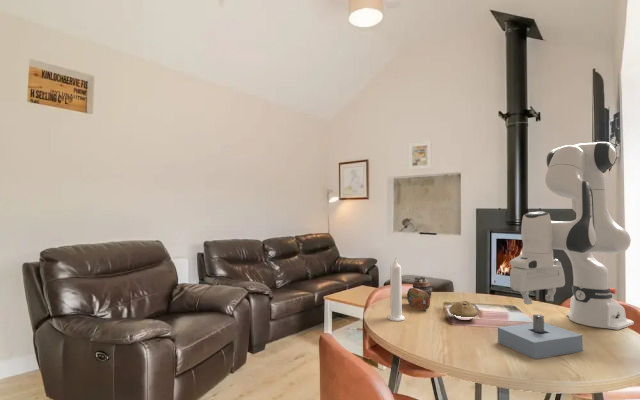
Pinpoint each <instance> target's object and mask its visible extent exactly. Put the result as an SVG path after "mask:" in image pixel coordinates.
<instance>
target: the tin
mask: <svg viewBox="0 0 640 400" xmlns="http://www.w3.org/2000/svg"><path fill="white" fill-rule="evenodd" d="M406 296H407V297H406V298H407V302H408V304H409V306H411V307H413V308H415V309H417V310H420V311H427V310H428V309H429V308H430V306H431V298H430V297H429V295H428V293H427V292H425V291H422V290H419V289H417V288H413V287H410V288H409V289H408V290H407V293H406Z"/></svg>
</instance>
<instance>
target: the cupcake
mask: <svg viewBox="0 0 640 400" xmlns="http://www.w3.org/2000/svg"><path fill="white" fill-rule="evenodd" d="M412 288H417V289H419V290H422V291H425V292H427V293H428V295H429V297H430V299H431V298H432V291H433V287H431V283H430V282H429V281H428V280H427V279H426V278H425V277H420V278H419V277H415V278H414V280H413V282H412Z"/></svg>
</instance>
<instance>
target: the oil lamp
mask: <svg viewBox="0 0 640 400" xmlns="http://www.w3.org/2000/svg"><path fill="white" fill-rule="evenodd" d="M448 311H449V313H450V314H451V315H452V314H453V315H456V316H461V317H474V318H475V317H477V316H478V314H479V312H478V310H477V308H476V307H474V306H473V305H472V303H471V302H470V301H468V300H467V301H466V300H463V301H462V300H461V301H456V302H454V303H452V305H451V306H450V307H449V308H448ZM453 315H452V316H453Z"/></svg>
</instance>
